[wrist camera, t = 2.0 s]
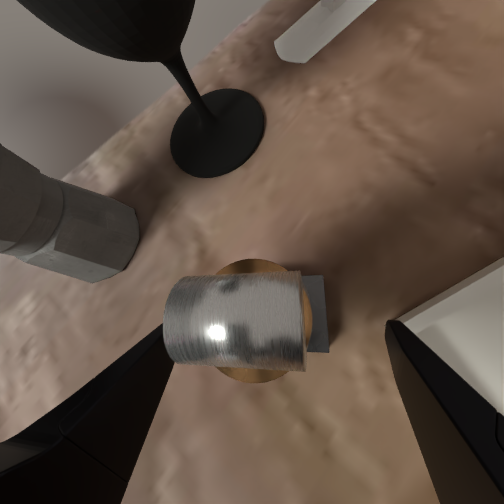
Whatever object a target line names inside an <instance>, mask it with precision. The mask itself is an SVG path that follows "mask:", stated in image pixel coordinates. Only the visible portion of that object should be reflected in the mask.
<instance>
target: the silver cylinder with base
mask: <svg viewBox="0 0 504 504" xmlns="http://www.w3.org/2000/svg"><path fill="white" fill-rule="evenodd" d="M163 337H164V343H165V347H166V350H167V352H168V354H169V356H170V357H171V359H172V360H173V361H174V362H176V363H177V364H182V365H199V366H215V367H216V368H217V369H219V370H220V371H221V372H222V373H224V374H225V375H227V376H229V377H231V378H233V379H235V380H238V381H241V382H246V383H263V382H268V381H272V380H275V379H277V378H279V377H281V376H283V375H284V374H286V373H287V372H289V371H301V372H306V364H307V352H324V353H329V340H328V328H327V316H326V304H325V292H324V280H323V275H311V276H301V272H300V271H287V270H286V269H285V268H283V267H281V266H280V265H278V264H275V263H273V262H270V261H267V260H262V259H245V260H240V261H237V262H234V263H232V264H229V265H228V266H226V267H224V268H223V269H221V270H220V271H219V272H218V273H217V274H215V275H201V276H186V277H183V278H181V279H180V280H179V281H178V282H177V283H176V284H175V285H174V287H173V288H172V290H171V292H170V294H169V296H168V299H167V302H166V306H165V310H164V317H163Z"/></svg>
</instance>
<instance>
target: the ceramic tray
mask: <svg viewBox="0 0 504 504" xmlns="http://www.w3.org/2000/svg"><path fill="white" fill-rule="evenodd" d="M395 320H400V321H401V322H402V323H403V324H405V325H406V326H407V327H408V328H409V329H410V330H411V331H412V332H413V333H414V334H415V335H416V336H418V337H419V338H420V339H421V340H422V341H423V342H424V343H425V344H426V345H427V346H428V347H429V348H431V349H432V350H433V351H434V352H435V353H436V354H437V355H438V356H439V357H440V358H441V359H442V360H444V361H445V362H446V363H447V364H448V365H449V366H450V367H451V368H452V369H453V370H454V371H455V372H457V373H458V374H459V375H460V376H461V377H462V378H463V379H464V380H465V381H466V382H467V383H468V384H470V385H471V386H472V387H473V388H474V389H475V390H476V391H477V392H478V393H479V394H480V395H481V396H483V397H484V398H485V399H486V400H487V401H488V402H489V403H490V404H491V405H492V406H493V407H494V408H496V410H497V412H500V413H501V414H502V415H503V416H504V257H502V258H501V259H499V260H497V261H495V262H494V263H492V264H490V265H489V266H487V267H485V268H483V269H482V270H480V271H478V272H476V273H475V274H473V275H471V276H470V277H468V278H466V279H464V280H463V281H461V282H459V283H458V284H456V285H454V286H452V287H451V288H449V289H447V290H445V291H444V292H442V293H440V294H439V295H437V296H435V297H433V298H432V299H430V300H428V301H426V302H425V303H423V304H421V305H420V306H418V307H416V308H414V309H413V310H411V311H409V312H408V313H406V314H404V315H402V316H401V317H399V318H397V319H395ZM385 328H386V325H385Z"/></svg>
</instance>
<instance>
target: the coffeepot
mask: <svg viewBox="0 0 504 504" xmlns="http://www.w3.org/2000/svg"><path fill="white" fill-rule="evenodd" d="M138 240H139V224H138V220H137V217H136V215H135V210H134V208H131V207H129V206H127V205H125V204H123V203H121V202H119V201H117V200H115V199H113V198H110V197H107V196H104V195H101V194H98V193H95V192H92V191H89V190H86V189H83V188H81V187H78V186H75V185H72V184H69V183H66V182H63V181H60V180H57V179H54V178H50V177H48V176H46V175H44V174H41V173H40V171H39V170H38V169H37V168H36V167H34V166H33V165H31V164H29V163H28V162H26V161H25V160H23V159H22V158H20V157H19V156H17V155H16V154H14V153H13V152H11V151H10V150H8V149H6V148H5V147H3V146H2V145H1V144H0V253H1V254H7V255H12V256H15V257H16V258H18V259H20V260H22V261H23V262H25V263H28V264H31V265H35V266H38V267H41V268H44V269H48V270H51V271H54V272H57V273H61V274H64V275H67V276H70V277H73V278H77V279H80V280H83V281H86V282H90V283H95V282H98V281H101V280H104V279H107V278H110V277H112V276H114V275H116V274H117V273H119V272H121V271H122V270H123V269H124V267H125V266H126V265H127V264H128V262H129V261H130V259H131V258H132V256H133V254H134V252H135V250H136V247H137V243H138Z"/></svg>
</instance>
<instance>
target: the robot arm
mask: <svg viewBox="0 0 504 504" xmlns="http://www.w3.org/2000/svg"><path fill="white" fill-rule="evenodd" d="M385 341H386V345H387V349H388V353H389V357H390V361H391V365H392V370H393V374H394V377H395V381H396V384H397V387H398V390H399V393H400V395H401V398H402V401H403V404H404V406H405V409H406V412H407V415H408V417H409V420H410V423H411V425H412V428H413V431H414V434H415V436H416V439H417V442H418V444H419V447H420V450H421V453H422V455H423V458H424V461H425V464H426V466H427V469H428V472H429V474H430V477H431V480H432V483H433V485H434V488H435V491H436V494H437V496H438V499H439V502H440V504H504V416H503V415H502V414H501V413H500V412H497V410H496V408H494V407H493V406H492V405H491V404H490V403H489V402H488V401H487V400H486V399H485V398H484V397H483V396H481V395H480V394H479V393H478V392H477V391H476V390H475V389H474V388H473V387H472V386H471V385H470V384H468V383H467V382H466V381H465V380H464V379H463V378H462V377H461V376H460V375H459V374H458V373H457V372H455V371H454V370H453V369H452V368H451V367H450V366H449V365H448V364H447V363H446V362H445V361H444V360H442V359H441V358H440V357H439V356H438V355H437V354H436V353H435V352H434V351H433V350H432V349H431V348H429V347H428V346H427V345H426V344H425V343H424V342H423V341H422V340H421V339H420V338H419V337H418V336H416V335H415V334H414V333H413V332H412V331H411V330H410V329H409V328H408V327H407V326H406V325H405V324H403V323H402V322H401V321H400V320H388V321H387V322H386V329H385ZM173 366H174V361H173V360H172V359H171V357H170V356H169V354H168V352H167V350H166V347H165V343H164V337H163V323H162V324H161V325H160V326H158V327H157V328H156V329H155V330H153V331H152V332H151V333H150V334H148V335H147V336H146V337H145V338H143V339H142V340H141V341H140V342H138V343H137V344H136V345H135V346H133V347H132V348H131V349H130V350H128V351H127V352H126V353H125V354H123V355H122V356H121V357H120V358H118V359H117V360H116V361H115V362H113V363H112V364H111V365H109V366H108V367H107V368H106V369H104V370H103V371H102V372H101V373H99V374H98V375H97V376H96V377H95V378H93V379H92V380H91V381H89V382H88V383H87V384H86V385H84V386H83V387H82V388H81V389H79V390H78V391H77V392H75V393H74V394H73V395H71V396H70V397H69V398H67V399H66V400H65V401H63V402H62V403H61V404H59V405H58V406H56V407H55V408H54V409H52V410H51V411H49V412H48V413H47V414H45V415H44V416H42V417H41V418H40V419H38V420H37V421H35V422H34V423H33V424H31V425H30V426H29V427H27V428H26V429H24V430H23V431H21V432H20V433H18V434H17V435H15V436H13V437H12V438H10V439H8V440H6V441H3V442H1V443H0V504H121V501H122V499H123V496H124V493H125V491H126V488H127V486H128V482H129V480H130V478H131V475H132V472H133V470H134V467H135V465H136V462H137V460H138V457H139V454H140V452H141V449H142V447H143V444H144V441H145V439H146V436H147V434H148V431H149V428H150V426H151V423H152V421H153V418H154V416H155V413H156V410H157V408H158V405H159V403H160V400H161V397H162V395H163V392H164V390H165V387H166V384H167V382H168V379H169V377H170V374H171V371H172V369H173Z"/></svg>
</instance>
